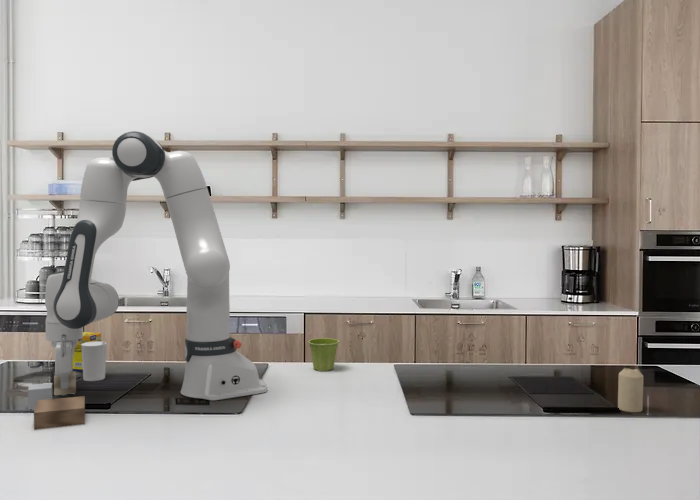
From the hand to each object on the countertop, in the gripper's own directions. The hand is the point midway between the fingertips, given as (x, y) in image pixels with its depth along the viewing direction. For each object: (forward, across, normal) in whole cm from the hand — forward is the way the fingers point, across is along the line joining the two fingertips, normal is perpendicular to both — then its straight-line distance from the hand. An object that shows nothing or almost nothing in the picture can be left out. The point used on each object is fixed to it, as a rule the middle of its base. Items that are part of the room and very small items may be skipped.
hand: (65, 384), depth 163 cm
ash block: (+2, 0, 0) cm, 2 cm away
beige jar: (+2, -64, -128) cm, 143 cm away
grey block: (+2, -11, +5) cm, 12 cm away
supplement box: (+2, +25, -5) cm, 26 cm away
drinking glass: (+2, +13, -7) cm, 15 cm away
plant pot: (+2, +1, -72) cm, 72 cm away
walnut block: (+2, -24, 0) cm, 24 cm away
